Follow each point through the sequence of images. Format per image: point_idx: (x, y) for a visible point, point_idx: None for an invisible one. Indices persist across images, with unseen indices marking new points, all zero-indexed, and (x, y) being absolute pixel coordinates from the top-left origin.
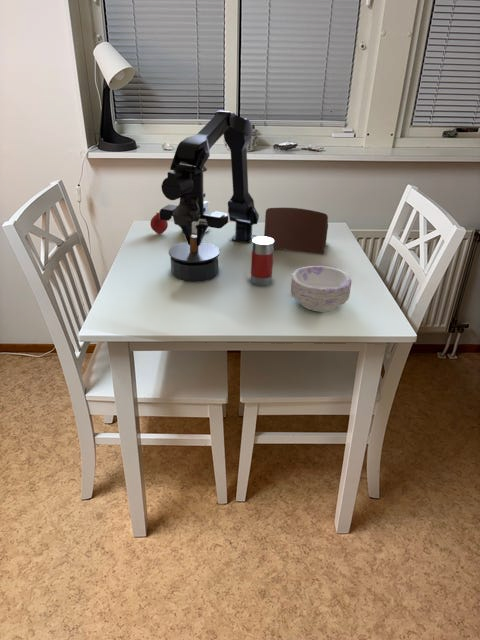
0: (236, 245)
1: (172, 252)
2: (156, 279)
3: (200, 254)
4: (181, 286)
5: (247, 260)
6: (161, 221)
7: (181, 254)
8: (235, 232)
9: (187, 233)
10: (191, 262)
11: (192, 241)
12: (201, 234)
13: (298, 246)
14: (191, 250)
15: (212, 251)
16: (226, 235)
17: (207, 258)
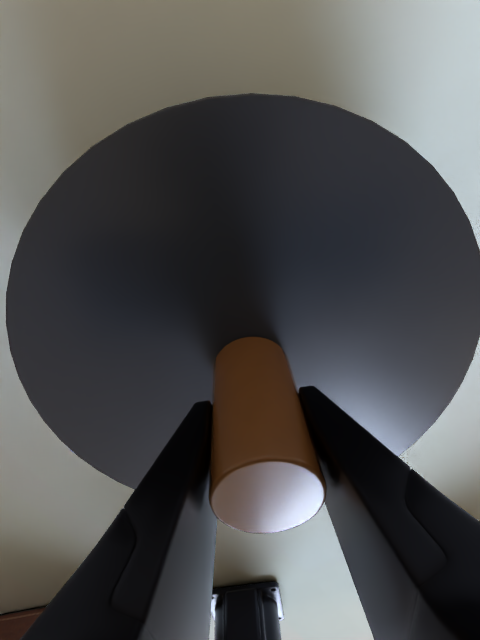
0: (236, 561)
1: (426, 233)
2: (418, 38)
3: (156, 337)
4: (186, 36)
5: (109, 498)
6: None
7: (315, 239)
8: (273, 622)
9: (359, 499)
10: (114, 136)
11: (253, 415)
12: (97, 561)
13: (6, 636)
14: (258, 343)
15: (118, 428)
16: (315, 594)
17: (35, 297)
